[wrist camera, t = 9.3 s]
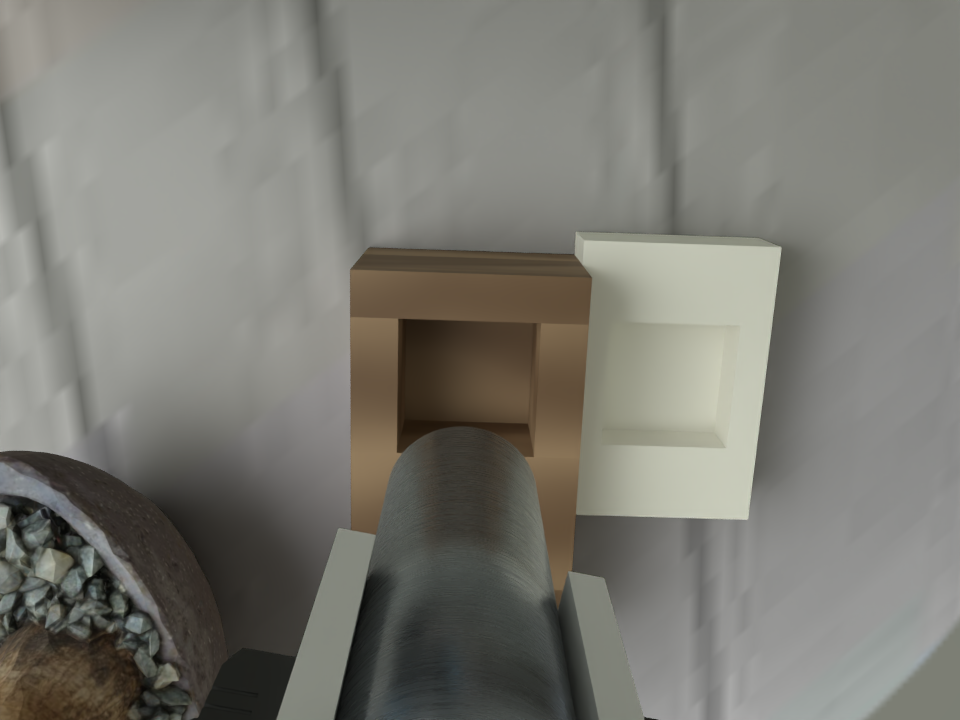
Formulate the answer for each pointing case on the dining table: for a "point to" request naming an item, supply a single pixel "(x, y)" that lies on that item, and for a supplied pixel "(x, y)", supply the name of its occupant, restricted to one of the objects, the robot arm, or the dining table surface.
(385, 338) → the socket block
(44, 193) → the dining table surface
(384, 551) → the grey metal cylinder
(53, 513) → the planter
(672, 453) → the block
